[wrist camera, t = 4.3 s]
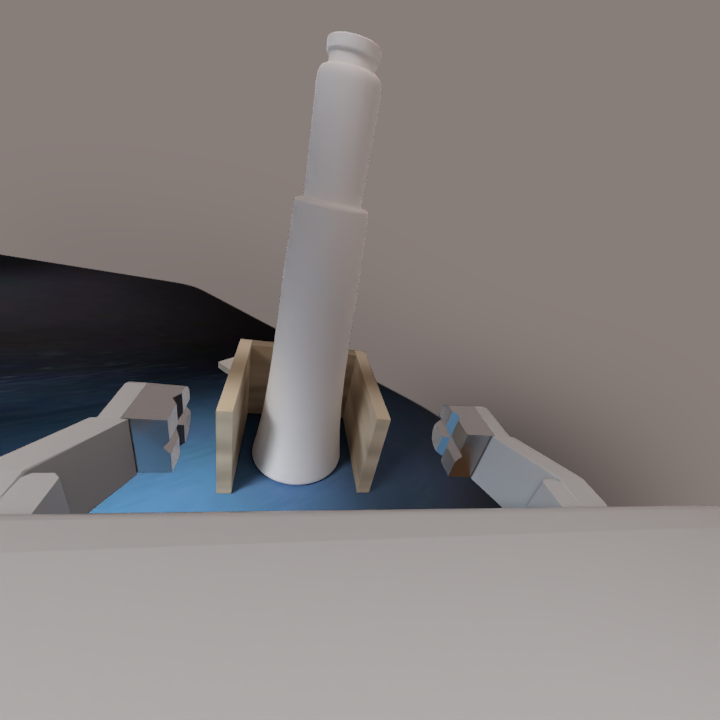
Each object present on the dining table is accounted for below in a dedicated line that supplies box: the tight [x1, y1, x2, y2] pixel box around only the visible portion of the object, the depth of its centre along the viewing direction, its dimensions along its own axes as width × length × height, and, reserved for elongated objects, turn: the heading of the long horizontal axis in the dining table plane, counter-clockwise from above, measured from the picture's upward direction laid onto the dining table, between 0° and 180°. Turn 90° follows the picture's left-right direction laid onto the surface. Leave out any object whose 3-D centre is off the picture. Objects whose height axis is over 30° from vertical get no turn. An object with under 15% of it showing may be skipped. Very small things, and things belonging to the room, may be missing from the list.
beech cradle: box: [216, 339, 391, 493], centre depth 22 cm, size 8×9×6 cm
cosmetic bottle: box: [252, 31, 382, 485], centre depth 18 cm, size 6×6×22 cm
